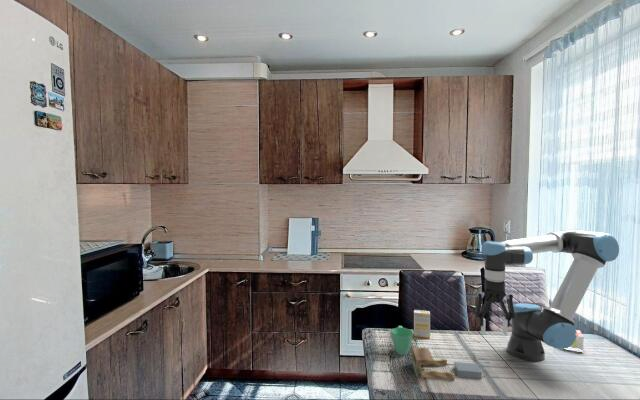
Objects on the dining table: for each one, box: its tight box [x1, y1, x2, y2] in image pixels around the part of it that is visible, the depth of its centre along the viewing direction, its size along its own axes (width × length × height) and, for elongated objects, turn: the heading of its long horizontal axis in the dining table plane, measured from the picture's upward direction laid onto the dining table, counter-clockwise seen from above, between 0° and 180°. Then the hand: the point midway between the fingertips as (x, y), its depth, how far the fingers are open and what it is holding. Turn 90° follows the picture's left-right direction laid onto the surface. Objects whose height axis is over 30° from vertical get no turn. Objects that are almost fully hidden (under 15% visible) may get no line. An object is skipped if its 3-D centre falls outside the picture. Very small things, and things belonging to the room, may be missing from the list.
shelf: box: [411, 347, 455, 382], centre depth 140 cm, size 15×13×7 cm
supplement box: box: [413, 309, 431, 339], centre depth 174 cm, size 8×5×13 cm, turn 71°
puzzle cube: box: [570, 329, 585, 351], centre depth 161 cm, size 8×8×8 cm
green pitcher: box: [391, 325, 414, 356], centre depth 159 cm, size 15×10×10 cm
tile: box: [453, 361, 482, 380], centre depth 139 cm, size 9×7×3 cm
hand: (494, 333), depth 137 cm, fingers open, 8 cm apart
